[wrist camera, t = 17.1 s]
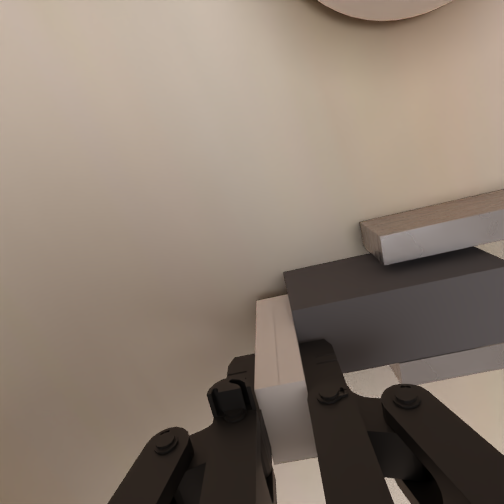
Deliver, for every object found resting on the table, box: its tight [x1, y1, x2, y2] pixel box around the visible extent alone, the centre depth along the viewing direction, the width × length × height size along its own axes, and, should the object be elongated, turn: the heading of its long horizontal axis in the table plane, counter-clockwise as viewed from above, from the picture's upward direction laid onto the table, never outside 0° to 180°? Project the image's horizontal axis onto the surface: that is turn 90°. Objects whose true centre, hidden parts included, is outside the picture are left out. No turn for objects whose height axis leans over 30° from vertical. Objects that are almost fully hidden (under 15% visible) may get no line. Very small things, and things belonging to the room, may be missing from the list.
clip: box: [360, 189, 504, 385], centre depth 16 cm, size 9×7×3 cm
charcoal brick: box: [283, 246, 504, 374], centre depth 16 cm, size 8×3×4 cm, turn 103°
